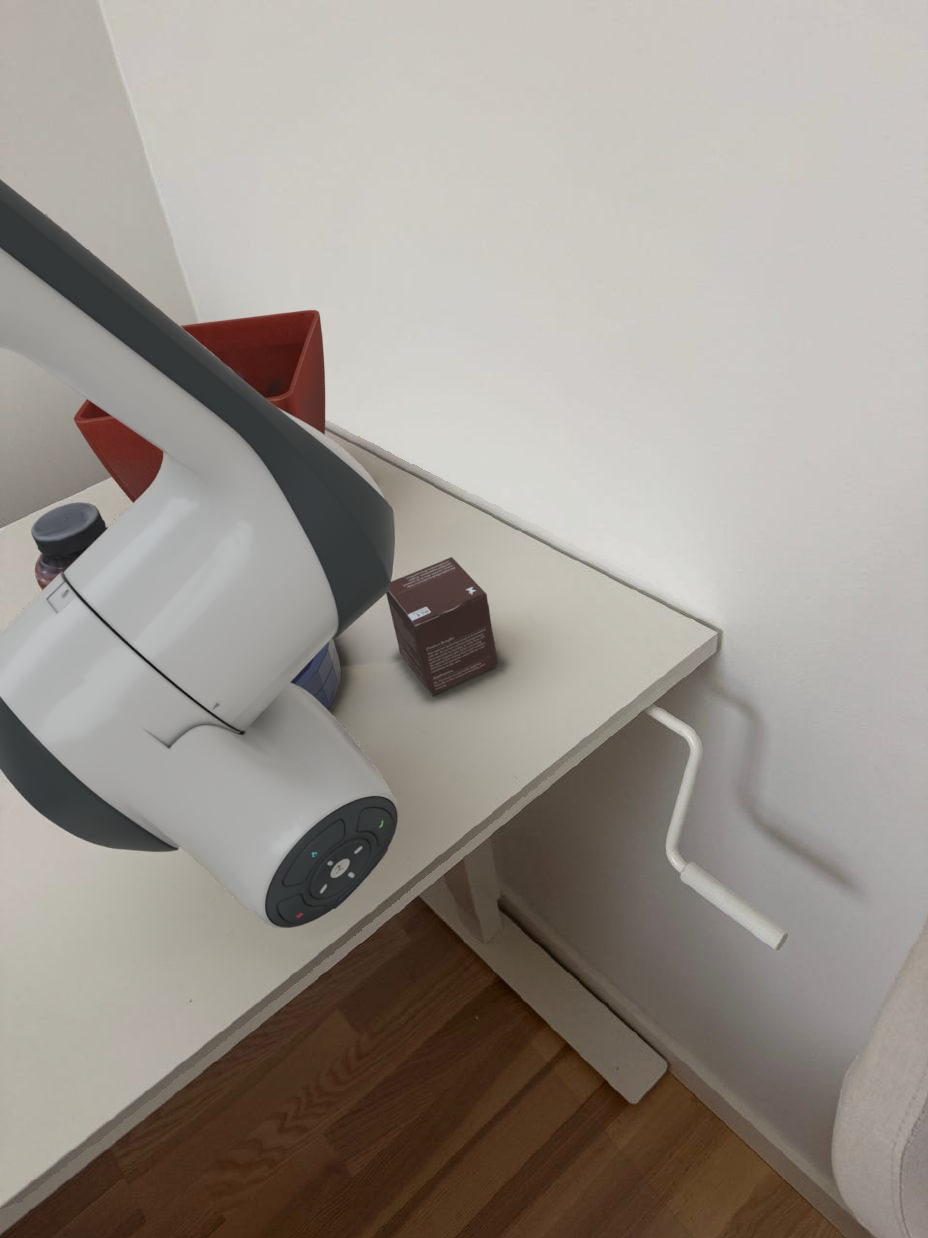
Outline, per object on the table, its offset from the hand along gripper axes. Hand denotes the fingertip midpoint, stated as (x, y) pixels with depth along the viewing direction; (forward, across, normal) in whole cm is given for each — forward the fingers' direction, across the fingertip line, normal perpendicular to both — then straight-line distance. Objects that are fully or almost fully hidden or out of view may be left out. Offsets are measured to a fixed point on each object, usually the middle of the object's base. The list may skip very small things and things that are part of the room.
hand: (93, 584), depth 60 cm
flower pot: (+27, -21, +17) cm, 38 cm away
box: (-5, -21, +17) cm, 28 cm away
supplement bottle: (-1, 0, +6) cm, 6 cm away
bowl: (+5, -7, +17) cm, 19 cm away
